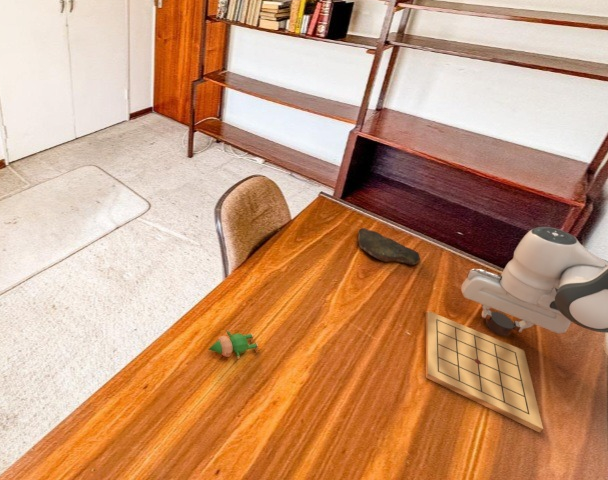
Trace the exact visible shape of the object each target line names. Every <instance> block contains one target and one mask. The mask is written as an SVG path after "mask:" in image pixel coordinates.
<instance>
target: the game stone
mask: <svg viewBox="0 0 608 480" xmlns="http://www.w3.org/2000/svg"><path fill="white" fill-rule="evenodd" d="M491 314H492V316H491V318H490V320H488V319H486V320H485V325H486V327H487V328H488V329H489V330H490V331H491V332H492V333H494V334H496V335H498V336H501V337H509V336H511V334H512V332H513V329H514V327H515V325H514V320H513V319H511V318H510V317H509V316H507V314H505V313H503V312H501V311H491Z"/></svg>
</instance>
